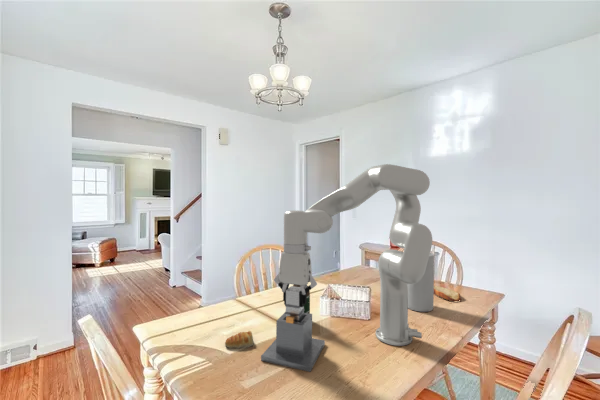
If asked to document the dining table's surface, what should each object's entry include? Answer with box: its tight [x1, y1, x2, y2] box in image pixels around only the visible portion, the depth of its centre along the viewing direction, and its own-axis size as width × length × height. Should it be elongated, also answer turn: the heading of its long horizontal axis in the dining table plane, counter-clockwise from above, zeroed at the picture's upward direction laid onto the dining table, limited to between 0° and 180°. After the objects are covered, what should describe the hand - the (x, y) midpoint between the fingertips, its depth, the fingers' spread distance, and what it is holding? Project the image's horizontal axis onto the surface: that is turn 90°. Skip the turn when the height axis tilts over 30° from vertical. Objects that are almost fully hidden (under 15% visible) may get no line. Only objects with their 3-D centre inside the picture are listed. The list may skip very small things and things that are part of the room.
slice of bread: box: [434, 285, 462, 302], centre depth 148 cm, size 18×18×4 cm
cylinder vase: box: [407, 252, 435, 313], centre depth 131 cm, size 12×12×25 cm
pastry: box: [224, 330, 255, 349], centre depth 97 cm, size 9×7×4 cm
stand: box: [260, 312, 326, 373], centre depth 92 cm, size 16×16×13 cm
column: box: [284, 285, 304, 322], centre depth 92 cm, size 5×5×18 cm
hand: (294, 303), depth 92 cm, fingers closed on column, 4 cm apart
